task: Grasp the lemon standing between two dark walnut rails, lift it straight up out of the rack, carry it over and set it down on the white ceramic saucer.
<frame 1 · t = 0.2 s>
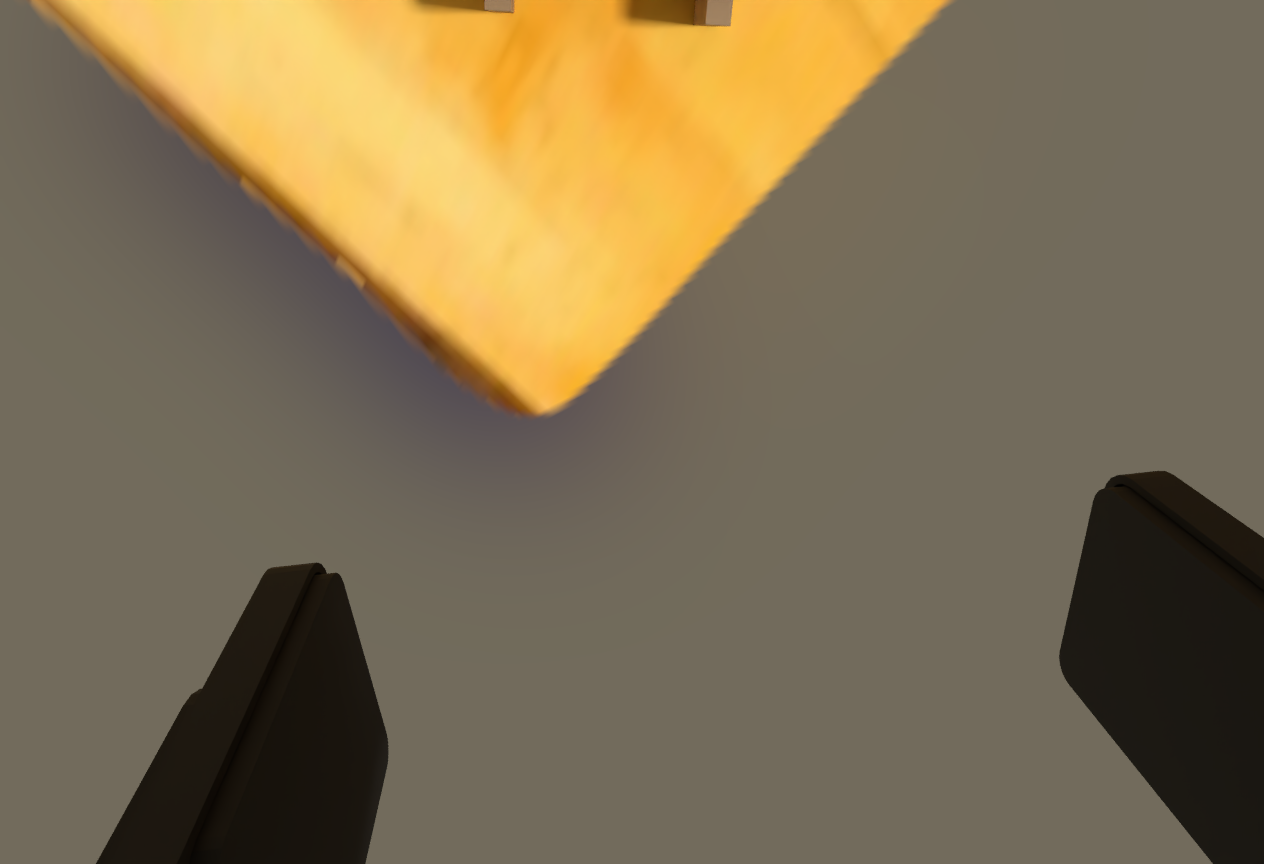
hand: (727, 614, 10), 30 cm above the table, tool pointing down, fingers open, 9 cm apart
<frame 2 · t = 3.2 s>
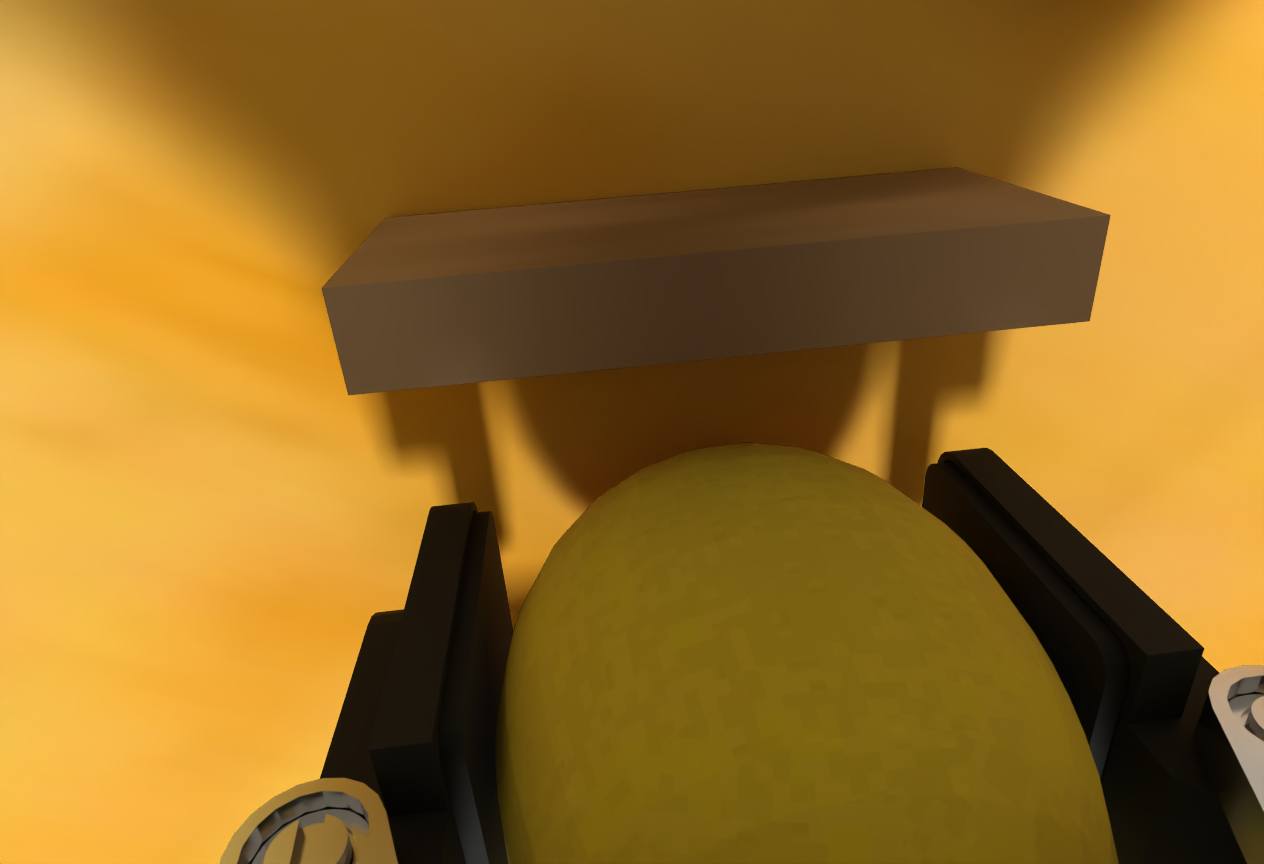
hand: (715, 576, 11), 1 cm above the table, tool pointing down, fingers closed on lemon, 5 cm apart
lemon: (698, 515, 12), on the table, touching gripper
rack: (691, 524, 12), on the table
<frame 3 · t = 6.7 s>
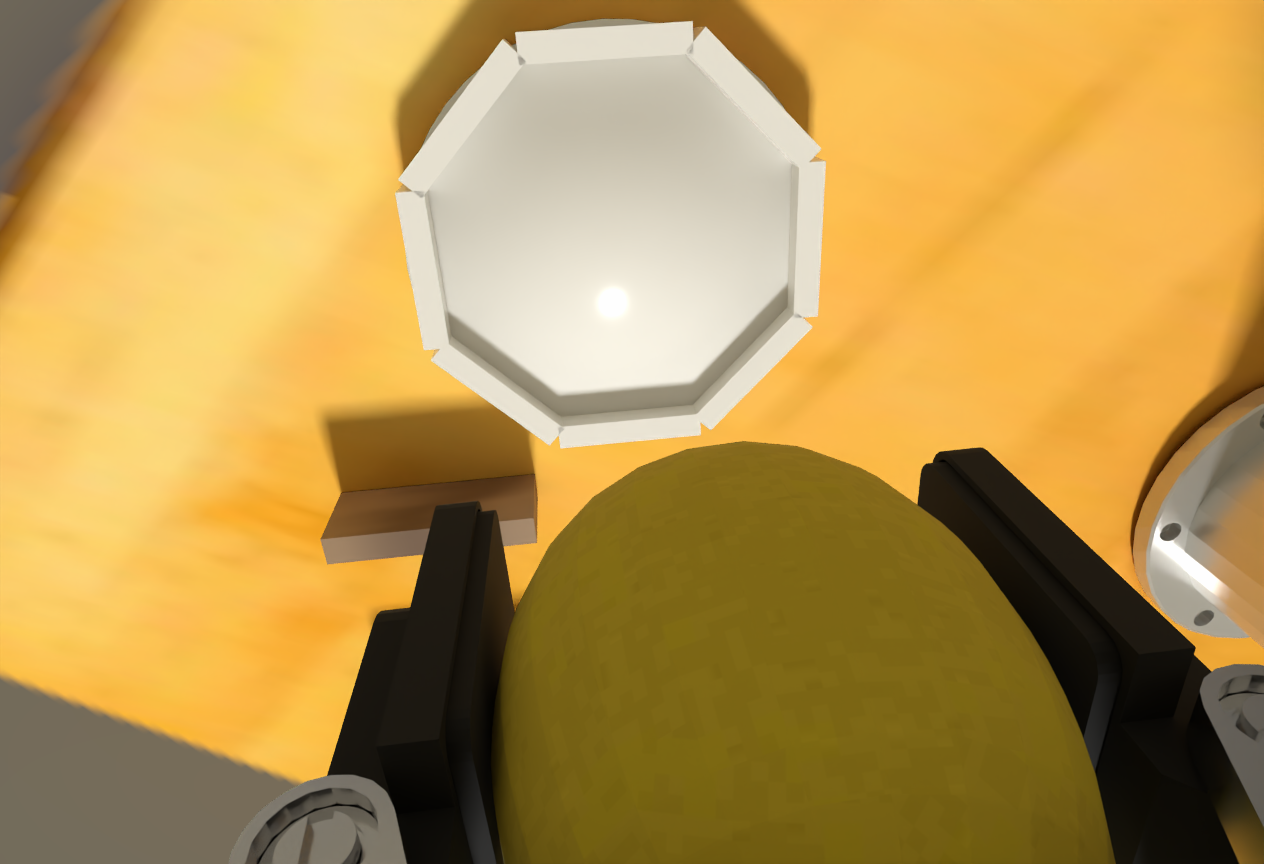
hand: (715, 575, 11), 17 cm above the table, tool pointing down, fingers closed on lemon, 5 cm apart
lemon: (695, 514, 12), point 16 cm above the table, touching gripper
rack: (458, 588, 31), on the table
saucer: (614, 244, 26), on the table
when the fingers open (4 cm above the table, at t = 10.1 s): lemon drops 1 cm, resting on saucer.
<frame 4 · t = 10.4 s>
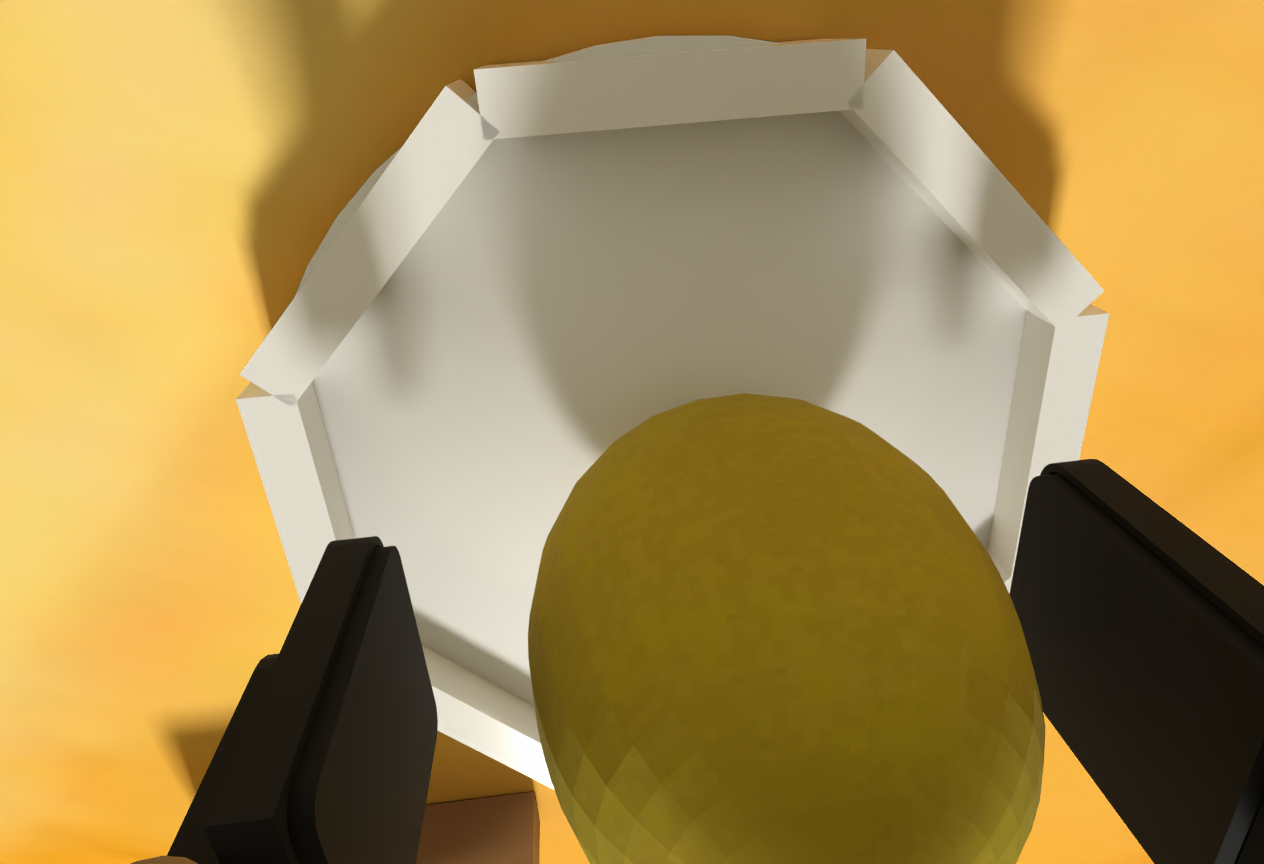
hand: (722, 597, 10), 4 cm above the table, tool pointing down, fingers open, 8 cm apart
lemon: (702, 468, 13), point 1 cm above the table, touching saucer
saucer: (674, 446, 14), on the table
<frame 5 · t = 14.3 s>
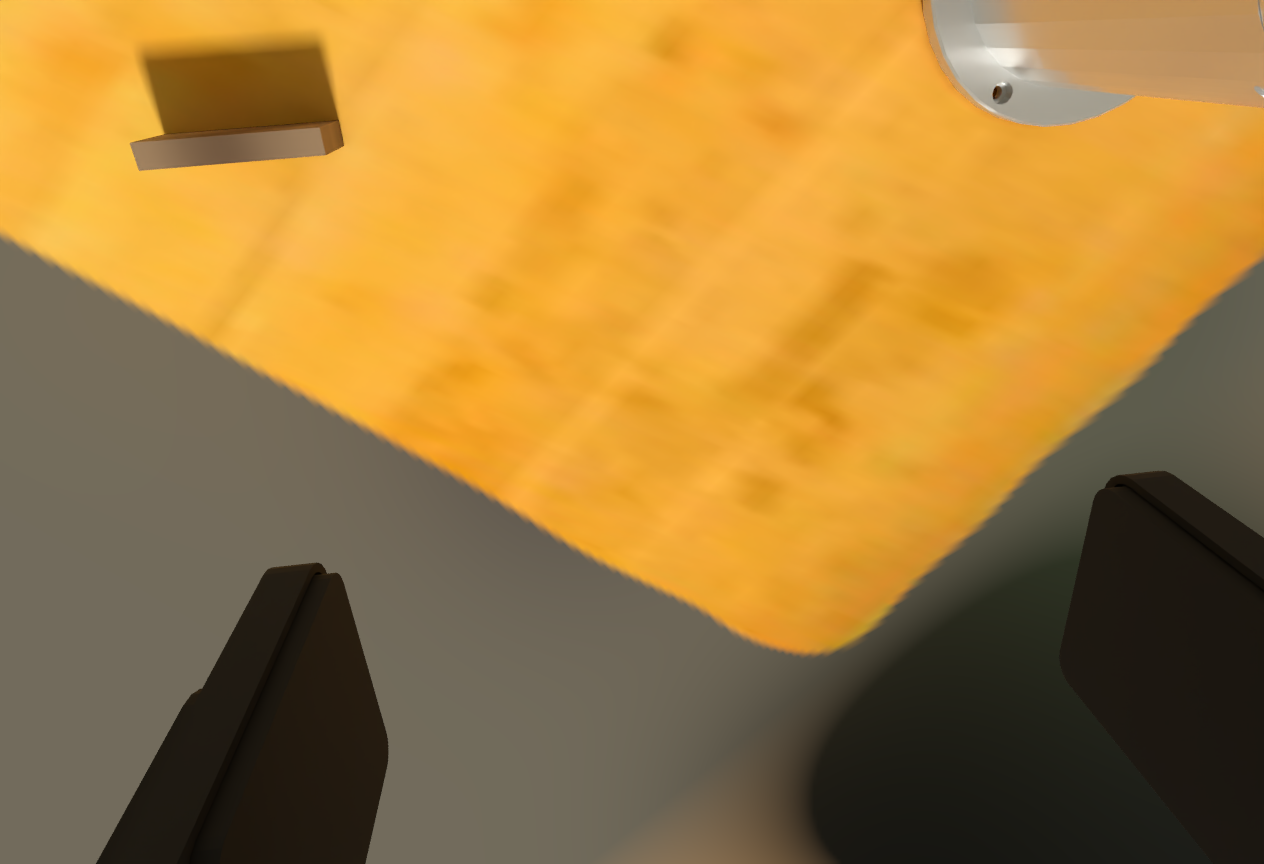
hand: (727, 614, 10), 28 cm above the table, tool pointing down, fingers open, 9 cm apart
rack: (224, 23, 31), on the table
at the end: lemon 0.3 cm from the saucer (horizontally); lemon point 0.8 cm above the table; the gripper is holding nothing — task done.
